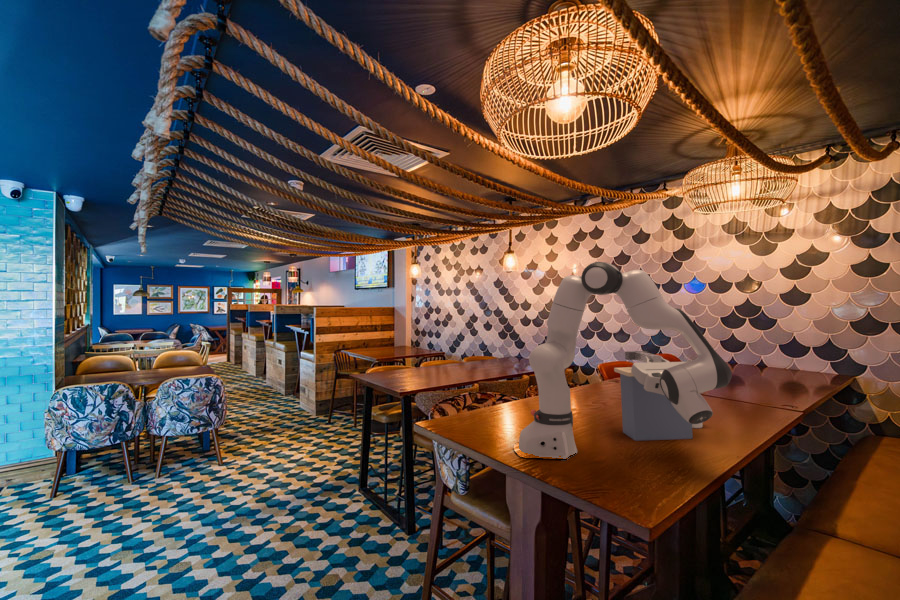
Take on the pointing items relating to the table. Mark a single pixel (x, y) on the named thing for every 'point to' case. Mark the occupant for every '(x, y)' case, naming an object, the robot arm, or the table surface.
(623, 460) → the table surface
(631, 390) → the wood-topped grey cube
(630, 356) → the steel T-bar
